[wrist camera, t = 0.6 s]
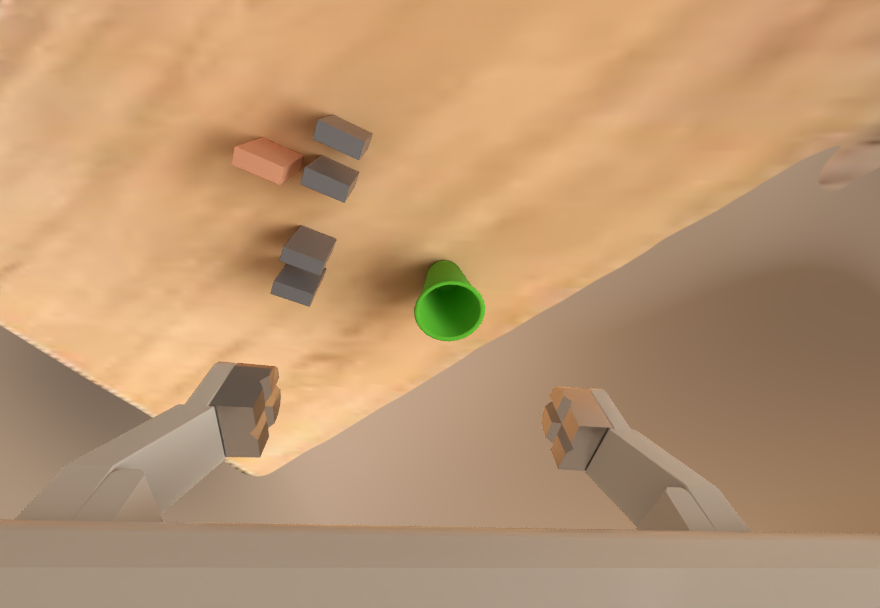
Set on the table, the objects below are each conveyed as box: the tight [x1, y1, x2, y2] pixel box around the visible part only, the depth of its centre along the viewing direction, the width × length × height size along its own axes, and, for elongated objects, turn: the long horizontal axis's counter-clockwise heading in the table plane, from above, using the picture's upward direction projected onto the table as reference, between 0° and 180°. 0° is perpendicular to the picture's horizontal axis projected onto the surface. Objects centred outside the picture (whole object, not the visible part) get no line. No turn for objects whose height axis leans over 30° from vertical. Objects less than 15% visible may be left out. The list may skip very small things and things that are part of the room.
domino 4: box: [280, 225, 336, 275], centre depth 48 cm, size 2×5×8 cm, turn 65°
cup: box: [414, 260, 485, 341], centre depth 51 cm, size 9×9×11 cm
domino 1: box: [232, 137, 303, 185], centre depth 42 cm, size 2×5×8 cm, turn 65°
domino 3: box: [300, 155, 359, 203], centre depth 43 cm, size 2×5×8 cm, turn 65°
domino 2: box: [313, 115, 372, 160], centre depth 41 cm, size 2×5×8 cm, turn 65°
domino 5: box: [271, 264, 326, 307], centre depth 50 cm, size 2×5×8 cm, turn 65°
